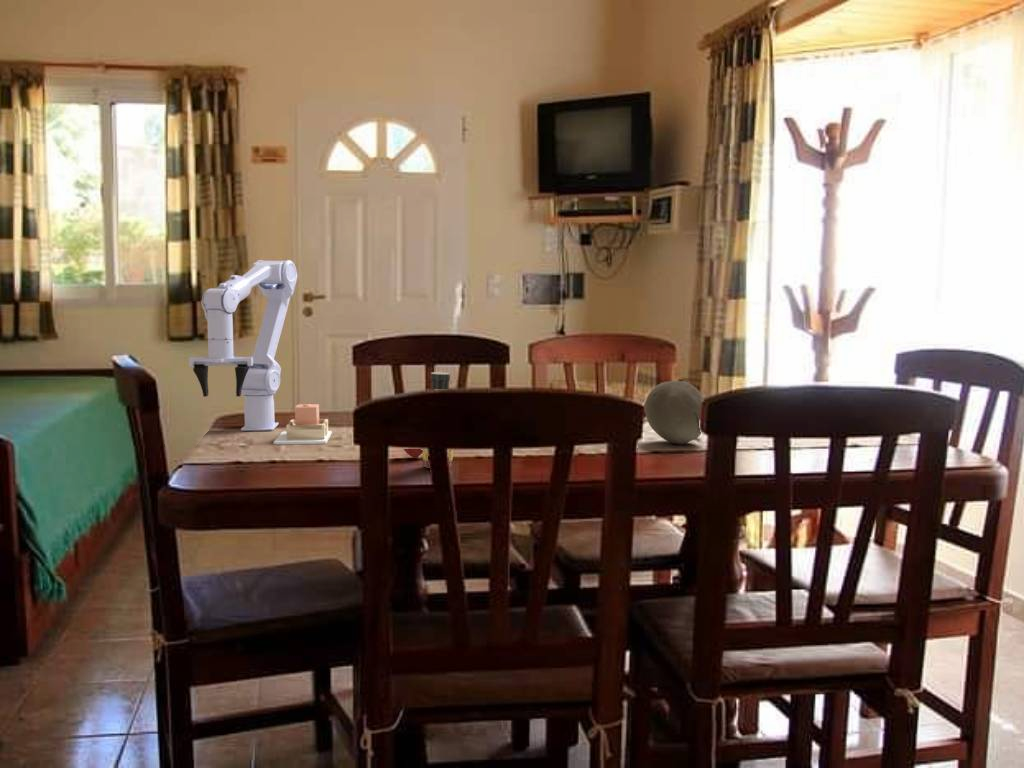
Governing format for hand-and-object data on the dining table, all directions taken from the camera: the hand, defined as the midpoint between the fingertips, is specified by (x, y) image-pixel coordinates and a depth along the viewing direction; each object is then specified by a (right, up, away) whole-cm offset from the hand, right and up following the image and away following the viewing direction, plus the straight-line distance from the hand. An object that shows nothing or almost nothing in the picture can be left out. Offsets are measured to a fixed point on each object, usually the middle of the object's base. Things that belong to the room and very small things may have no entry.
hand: (222, 396), depth 229 cm
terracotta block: (+20, -7, +2) cm, 21 cm away
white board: (+19, -10, +2) cm, 22 cm away
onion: (+48, -14, -20) cm, 54 cm away
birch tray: (+20, -10, +2) cm, 23 cm away
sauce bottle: (+54, -15, -30) cm, 63 cm away
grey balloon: (+108, -12, -2) cm, 108 cm away
